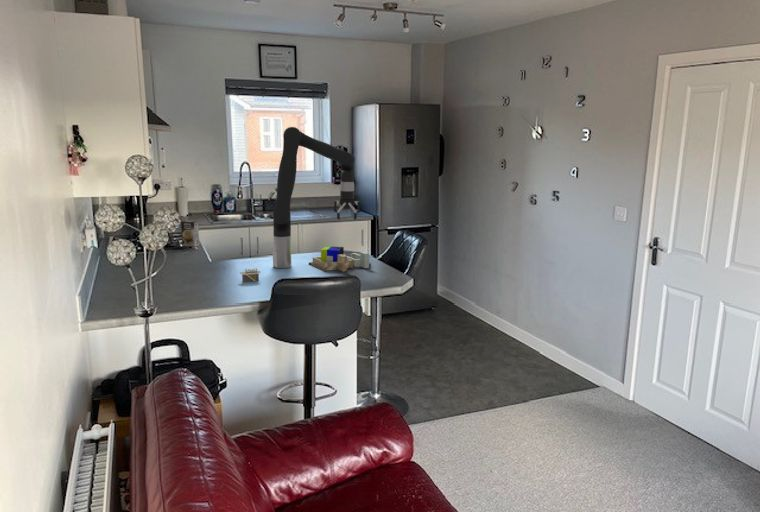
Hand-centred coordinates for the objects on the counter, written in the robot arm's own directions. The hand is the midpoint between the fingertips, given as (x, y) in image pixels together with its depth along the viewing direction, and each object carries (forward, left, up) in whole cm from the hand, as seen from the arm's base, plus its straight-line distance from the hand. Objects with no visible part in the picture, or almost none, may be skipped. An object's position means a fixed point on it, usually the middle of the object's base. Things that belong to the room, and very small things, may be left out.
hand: (346, 219), depth 308 cm
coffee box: (-61, +99, -26) cm, 119 cm away
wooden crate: (-58, -9, -26) cm, 64 cm away
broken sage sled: (+6, -1, -25) cm, 26 cm away
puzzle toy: (-8, +1, -26) cm, 27 cm away
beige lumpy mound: (-8, -2, -25) cm, 27 cm away
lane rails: (-3, +1, -26) cm, 26 cm away
